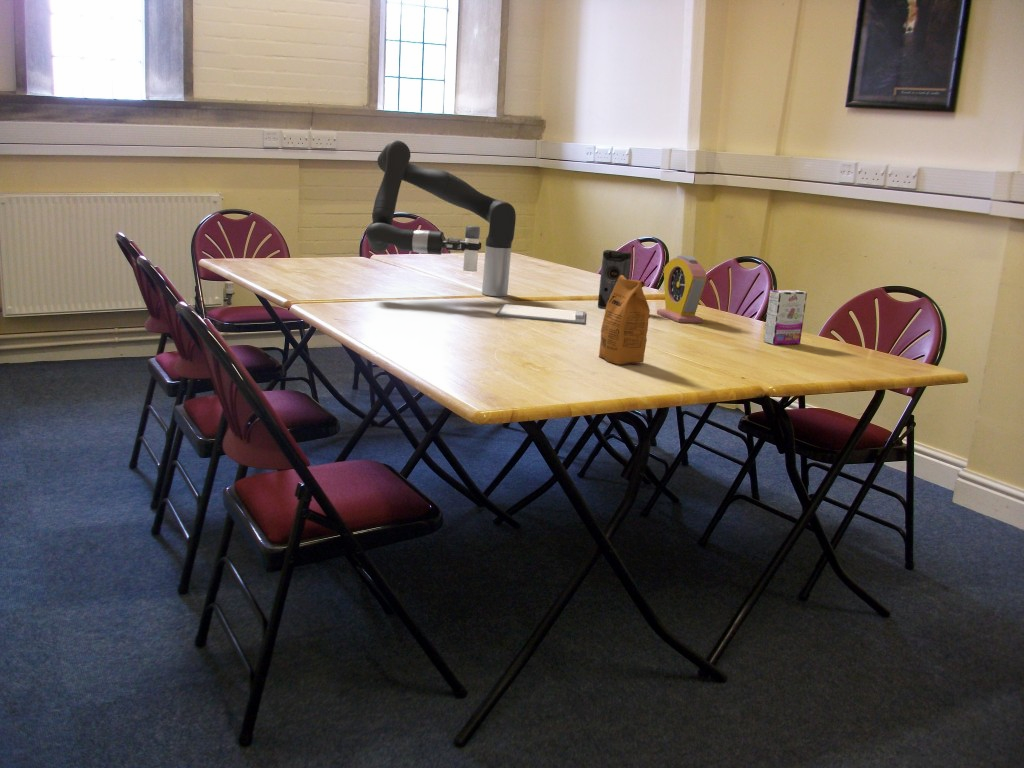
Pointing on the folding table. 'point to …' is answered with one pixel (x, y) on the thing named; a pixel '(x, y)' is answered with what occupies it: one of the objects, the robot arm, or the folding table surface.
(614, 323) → the coffee package
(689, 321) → the yellow desk clock
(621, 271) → the electronic device
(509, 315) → the clipboard
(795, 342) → the candy bar box
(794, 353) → the folding table surface
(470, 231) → the marker
